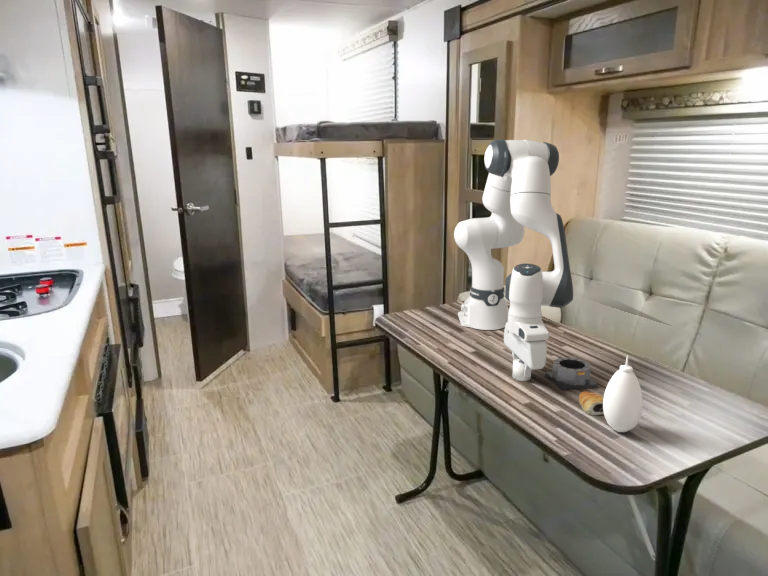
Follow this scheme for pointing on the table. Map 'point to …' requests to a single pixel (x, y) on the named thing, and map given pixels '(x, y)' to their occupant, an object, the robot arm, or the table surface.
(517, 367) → the cylinder with grey knob
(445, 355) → the table surface
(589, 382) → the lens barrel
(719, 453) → the table surface
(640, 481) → the table surface
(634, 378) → the white air blower bulb
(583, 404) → the pastry
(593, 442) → the table surface
